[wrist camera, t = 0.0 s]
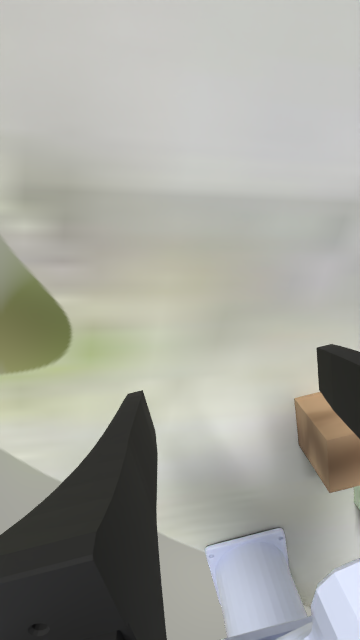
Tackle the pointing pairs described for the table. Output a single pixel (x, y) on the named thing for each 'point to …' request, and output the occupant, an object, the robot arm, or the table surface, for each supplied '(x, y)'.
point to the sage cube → (357, 496)
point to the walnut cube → (328, 443)
